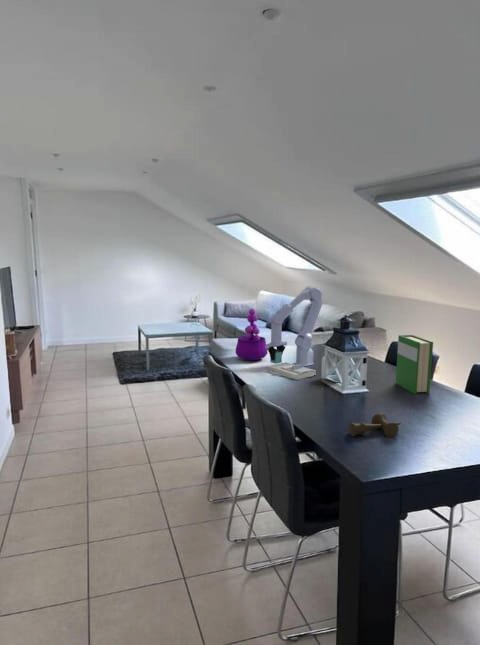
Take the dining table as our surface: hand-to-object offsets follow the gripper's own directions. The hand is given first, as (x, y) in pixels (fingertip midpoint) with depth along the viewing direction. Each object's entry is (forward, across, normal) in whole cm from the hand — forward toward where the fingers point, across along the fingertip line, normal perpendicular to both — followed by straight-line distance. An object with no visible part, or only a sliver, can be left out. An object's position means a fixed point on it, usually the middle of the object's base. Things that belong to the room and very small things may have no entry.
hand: (276, 359), depth 265 cm
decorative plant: (+4, 0, -21) cm, 21 cm away
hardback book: (+5, -24, +69) cm, 73 cm away
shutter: (+1, +3, +22) cm, 23 cm away
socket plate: (+4, +3, +15) cm, 16 cm away
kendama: (+4, +37, +92) cm, 100 cm away
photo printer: (+4, -3, +37) cm, 37 cm away
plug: (+2, 0, 0) cm, 2 cm away
